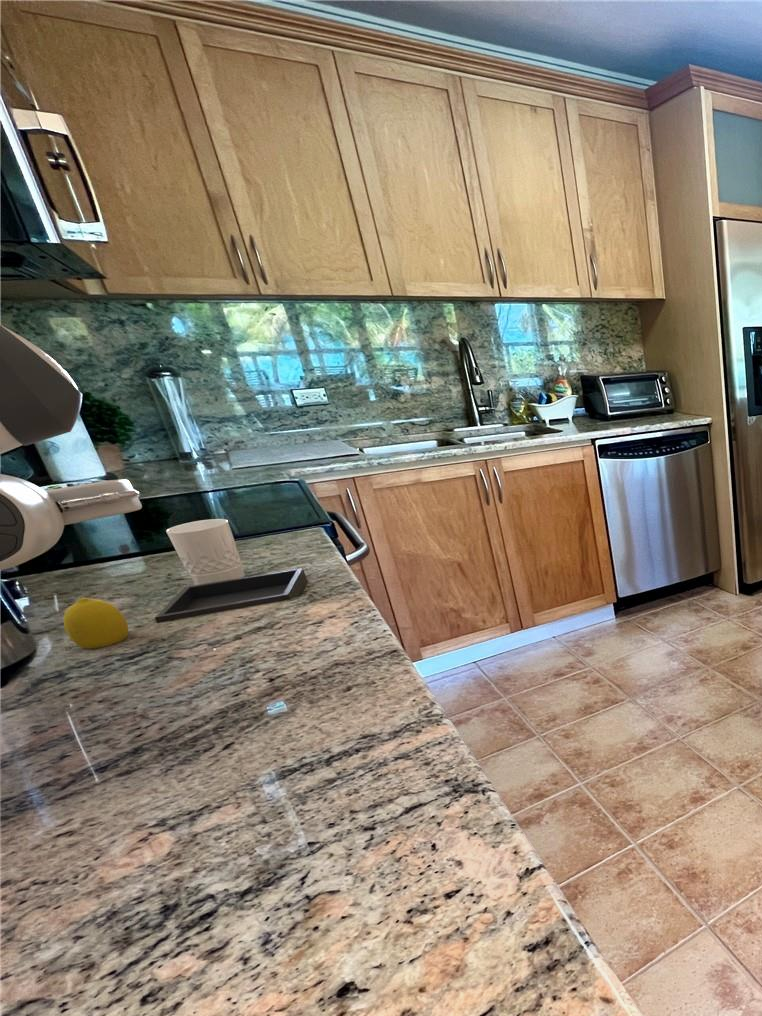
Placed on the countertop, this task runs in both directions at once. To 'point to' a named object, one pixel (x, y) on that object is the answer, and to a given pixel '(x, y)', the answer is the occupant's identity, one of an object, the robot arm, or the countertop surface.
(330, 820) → the countertop surface
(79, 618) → the lemon
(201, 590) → the tray
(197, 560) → the white cup
